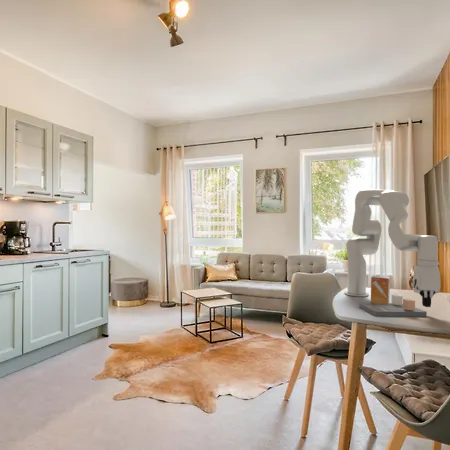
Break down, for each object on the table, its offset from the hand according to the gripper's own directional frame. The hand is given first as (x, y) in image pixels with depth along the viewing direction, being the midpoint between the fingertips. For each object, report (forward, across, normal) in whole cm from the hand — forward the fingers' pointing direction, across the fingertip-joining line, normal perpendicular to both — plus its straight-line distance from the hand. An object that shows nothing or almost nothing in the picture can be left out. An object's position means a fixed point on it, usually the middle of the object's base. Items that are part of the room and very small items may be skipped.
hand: (426, 306), depth 153 cm
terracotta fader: (+1, +8, 0) cm, 8 cm away
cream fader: (+1, +8, -10) cm, 13 cm away
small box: (+4, +9, -24) cm, 25 cm away
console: (+4, +13, -5) cm, 14 cm away
